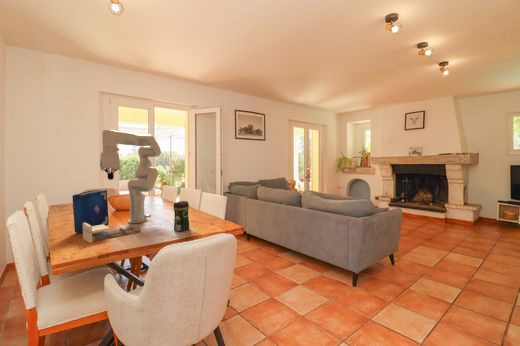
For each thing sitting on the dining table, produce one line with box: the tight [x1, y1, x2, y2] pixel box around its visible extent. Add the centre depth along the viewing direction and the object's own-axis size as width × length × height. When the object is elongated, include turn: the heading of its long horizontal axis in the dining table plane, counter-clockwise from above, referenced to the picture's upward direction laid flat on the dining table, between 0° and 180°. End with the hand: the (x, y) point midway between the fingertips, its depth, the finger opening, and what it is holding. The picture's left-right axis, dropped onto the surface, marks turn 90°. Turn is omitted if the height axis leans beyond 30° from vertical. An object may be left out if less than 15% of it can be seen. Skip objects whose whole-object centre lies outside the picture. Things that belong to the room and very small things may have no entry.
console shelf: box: [82, 223, 111, 244], centre depth 147 cm, size 10×12×9 cm
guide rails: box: [108, 226, 142, 239], centre depth 158 cm, size 18×10×1 cm, turn 138°
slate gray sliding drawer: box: [92, 227, 126, 241], centre depth 152 cm, size 16×7×3 cm, turn 137°
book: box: [71, 189, 110, 234], centre depth 166 cm, size 22×7×25 cm, turn 168°
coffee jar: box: [173, 200, 190, 232], centre depth 165 cm, size 10×8×19 cm
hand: (110, 179), depth 159 cm, fingers closed
